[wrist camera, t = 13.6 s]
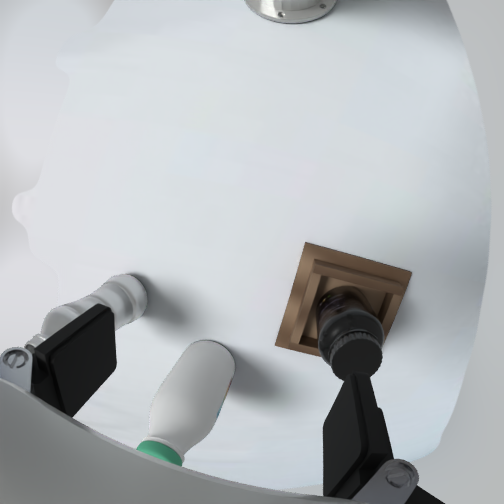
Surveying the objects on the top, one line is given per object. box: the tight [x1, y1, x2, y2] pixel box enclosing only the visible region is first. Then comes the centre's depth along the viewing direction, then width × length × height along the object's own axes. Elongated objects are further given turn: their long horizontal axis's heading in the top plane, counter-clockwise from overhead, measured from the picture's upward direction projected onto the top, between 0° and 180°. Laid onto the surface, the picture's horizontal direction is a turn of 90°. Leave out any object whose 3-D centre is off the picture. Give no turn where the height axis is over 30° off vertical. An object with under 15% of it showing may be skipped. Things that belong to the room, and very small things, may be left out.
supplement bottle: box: [316, 286, 384, 381], centre depth 30 cm, size 7×7×12 cm
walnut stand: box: [275, 242, 412, 357], centre depth 35 cm, size 14×14×3 cm
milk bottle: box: [136, 340, 235, 466], centre depth 31 cm, size 8×8×20 cm
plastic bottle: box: [24, 274, 148, 354], centre depth 31 cm, size 6×7×20 cm
